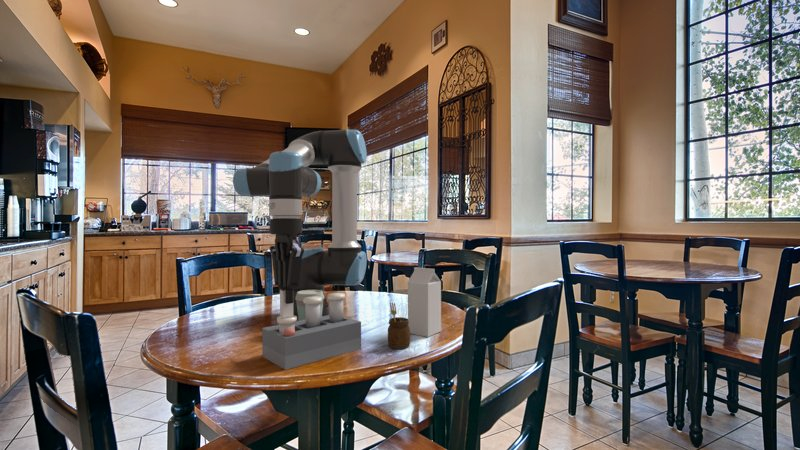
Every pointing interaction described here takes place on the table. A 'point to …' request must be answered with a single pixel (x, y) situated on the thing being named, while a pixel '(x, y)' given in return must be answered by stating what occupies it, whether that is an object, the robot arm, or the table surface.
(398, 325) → the utensil holder
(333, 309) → the knob far
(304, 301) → the knob middle
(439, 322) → the milk carton
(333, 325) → the grey tube rack
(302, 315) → the coffee cup
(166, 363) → the table surface
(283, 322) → the white capped tube
